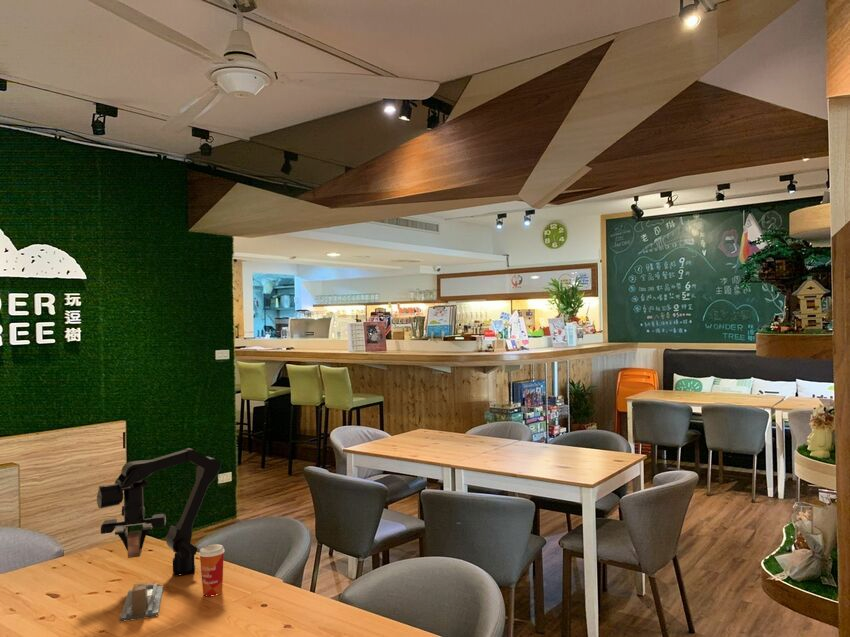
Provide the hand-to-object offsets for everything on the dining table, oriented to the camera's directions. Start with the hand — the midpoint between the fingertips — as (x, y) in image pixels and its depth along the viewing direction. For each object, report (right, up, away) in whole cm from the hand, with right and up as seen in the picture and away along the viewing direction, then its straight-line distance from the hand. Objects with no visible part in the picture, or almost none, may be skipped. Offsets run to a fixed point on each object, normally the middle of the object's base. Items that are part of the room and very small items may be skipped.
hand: (134, 549), depth 199 cm
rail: (+9, -11, -14) cm, 20 cm away
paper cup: (+28, -11, -8) cm, 31 cm away
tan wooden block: (0, -2, 0) cm, 2 cm away
